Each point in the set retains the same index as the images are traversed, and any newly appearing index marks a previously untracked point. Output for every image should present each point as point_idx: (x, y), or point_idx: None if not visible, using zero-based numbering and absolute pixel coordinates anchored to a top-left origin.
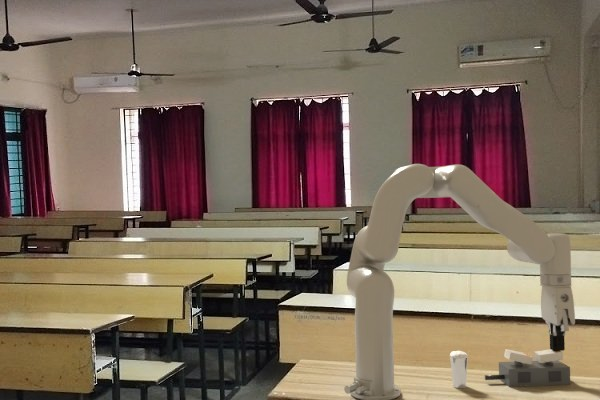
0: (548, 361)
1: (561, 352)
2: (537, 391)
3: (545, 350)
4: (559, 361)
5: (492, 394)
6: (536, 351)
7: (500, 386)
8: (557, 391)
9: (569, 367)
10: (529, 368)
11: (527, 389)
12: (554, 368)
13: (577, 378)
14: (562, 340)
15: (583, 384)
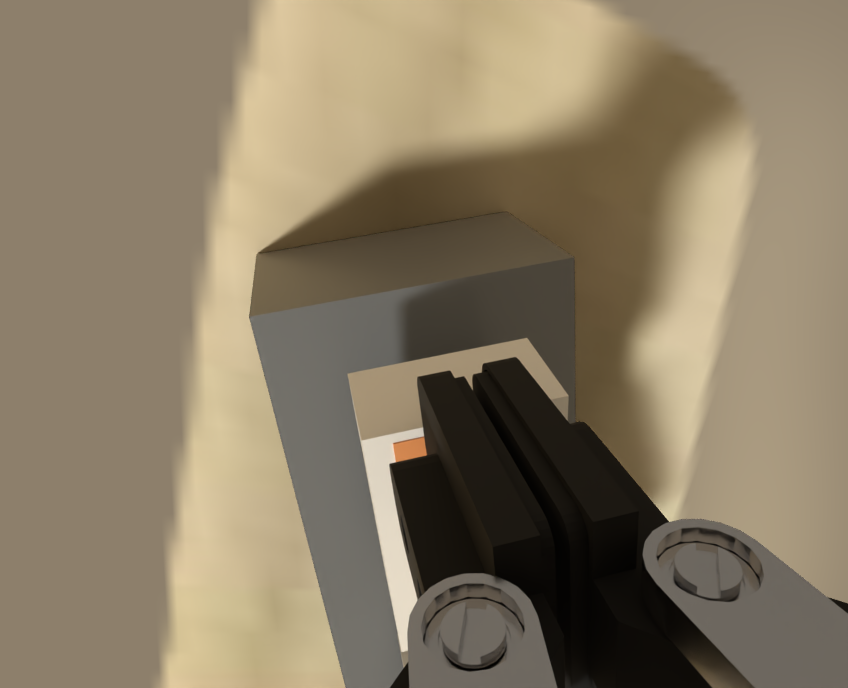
0: None
1: (567, 401)
2: (632, 474)
3: (406, 556)
4: (328, 309)
5: None
6: (404, 632)
7: None
8: (653, 355)
9: (571, 261)
10: None
11: None
12: (573, 410)
13: (302, 65)
14: (637, 490)
15: (506, 83)
